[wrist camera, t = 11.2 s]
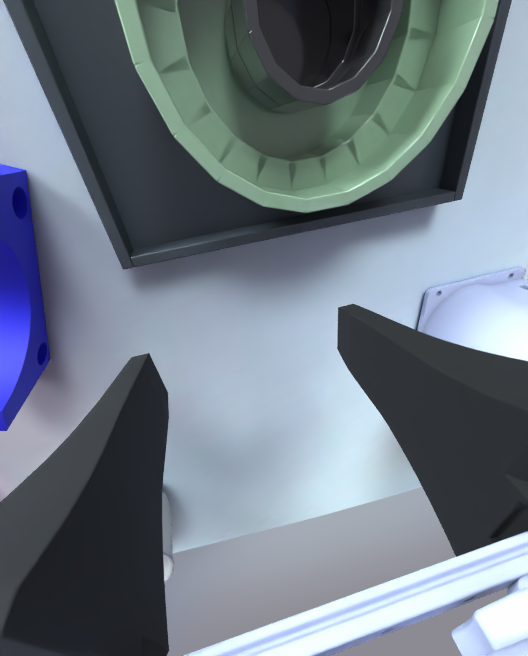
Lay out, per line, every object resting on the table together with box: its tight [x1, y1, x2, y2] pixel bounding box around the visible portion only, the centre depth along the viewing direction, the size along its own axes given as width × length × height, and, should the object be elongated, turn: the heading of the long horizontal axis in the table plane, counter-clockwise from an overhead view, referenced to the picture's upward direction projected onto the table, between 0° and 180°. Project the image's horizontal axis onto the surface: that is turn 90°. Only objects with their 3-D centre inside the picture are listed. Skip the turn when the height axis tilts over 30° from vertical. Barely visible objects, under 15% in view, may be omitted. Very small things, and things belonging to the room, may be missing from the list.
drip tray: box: [3, 0, 512, 269], centre depth 13 cm, size 21×17×2 cm
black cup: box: [225, 0, 403, 113], centre depth 11 cm, size 6×6×5 cm
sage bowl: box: [115, 0, 499, 213], centre depth 11 cm, size 13×13×6 cm
